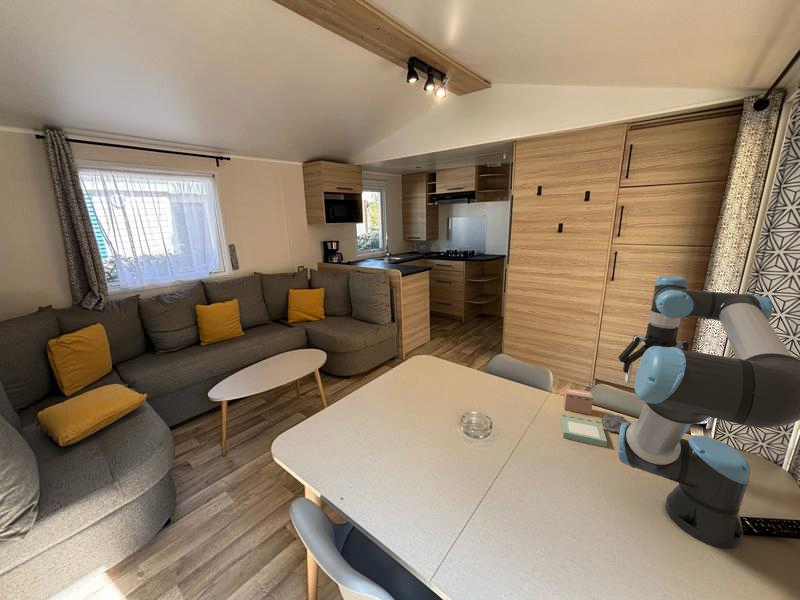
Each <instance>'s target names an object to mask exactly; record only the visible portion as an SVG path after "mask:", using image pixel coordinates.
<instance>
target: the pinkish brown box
mask: <svg viewBox="0 0 800 600" xmlns="http://www.w3.org/2000/svg"><path fill="white" fill-rule="evenodd" d="M593 400H594V397H593V394H592V391H587V390H580V389H574V388H569V387H565V389H564V395H563V410H564V411H569V410H570V411H569V412H576V413H580V414H585V415H590V414H591V415H592V408H593V404H594V402H593Z"/></svg>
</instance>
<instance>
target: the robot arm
mask: <svg viewBox="0 0 800 600" xmlns="http://www.w3.org/2000/svg"><path fill="white" fill-rule="evenodd" d="M688 283H689V281H688V279H687V278H685V277H682V276H674V275H673V276H672V275H662V276H661V275H660V276H658V277H657V278H656V280H655V284H654V286H653V288H654V289H653V290H654V291H653V296H652V300H651V301H652V302H651V308H650V312H649V318H648V322H649V323H647V328H646V335H645V337H641V336H638V335H633V338H632V341H631V342H630V343H629V344H628V346H627V347H625V349H624V350H623V351H622V352H621V353H620V355H619V356H618V360H619V361H620V362H621V363H623V368H622V370H623V372H624V373H625V377H624V381H625V382H626V384H630V383H631V377H632V373H633V367H634V366H633V363H634V362H635V361H637V360H638V359H640V360H639V365H638V368H637V369H636V370H637V371H636V374H635V379H634V393H635V396H636V397H637V398H638V399H639V400H642V401H644V404H643V407H642V410H641V413H640V415H639V418H638V420H636V421H633V422H632V423H631V422H630V423H625V422H624V423H622V424H621V427H620V433H619V432H618V433H619V434H618V450H617V452H618V453H617V455H618V459H619V461H620V462H621V463H622V464H623V465H624V464H625V465H627V466H629V467H630V468H633V469H637V470H640V471H643V472H646V473H650V474H651V475H656V476H658V477H661V478H664V479H667V480H669V481H673V482H676V483H678V485H677V486H675V487H674V489H672V491H670V493H669V494H667V497H666V501H665V504H664V506H665V510H666V513H667V515H668V516H669V517H670V518H671V520H672V521H673V522H674V523H675V524H676V525H677V526H679V528H681V529H682V530H683V531H684V532H686V533H688V535H690V536H692V537H694V538H695V539H697V540H699V541H701V542H703V543H706V544H708V545H711V546H713V547H716V548H722V549H735V548H738V547H739V546H740V545H741V544H742V540H743V536H744V531H743V525H742V520H741V517H740V509H741V506H742V503H743V500H744V496H745V494H746V490H747V487H748V485H749V483H750V480H751V479H750V477H751V471H752V469H751V465H750V463H749V461H748V459H746V457H745V456H744V455H743V454H742V453H741V452H739V451H737V450H736V449H735V448H733V447H732V446H730V445H728V444H727V443H725V442H722V441H720V440H717V439H716V438H713V437H709V436H707V435H703V434H698V435H697V434H694V435H691V436H690V437H689V438H688V439H685V438H683V437H684V435H685V434H686V433H687V431H688V430H689V428H690V427H691V425H695V424H696V425H698V424H701V423H702V422H705V421H706V420H707V419H709V418H713V419H716V420H720V421H724V422H725V421H726V422H729V423H734V424H738V425H741V426H747V427H751V428H758V429H759V428H761V429H763V428H764V429H766V428H767V429H768V428H769V429H770V428H780V427H784V426H789V425H792V424H794V423H796V422H798V421H800V358H799V357H795V356H793V355H792V353H791V352H790V351H789V349H788V348H787V345H785V343H784V342H783V340H782V339H781V338H780V336H779V335H778V333H777V332H776V330H775V329H774V327H773V326H772V325H771V323H770V322H769V321H770V319H771V317H772V314H773V305H772V304H773V303H772V299H770V298H769V297H767V296H763V295H755V294H751V293H749V294H748V293H746V294H745V293H732V292H731V293H729V292H717V291H705V290H695V289H693V290H692V289H688V288H689V286H688ZM684 317H686V318H695V319H704V320H712V321H720V323H721V326H722V328H723V331H724V333H725V335H726V337H727V340H728V342H729V344H730V347H731V349H732V352H733V354H734V357H729V356H724V355H717V354H710V353H704V352H699V351H698V352H697V351H691V350H689V343H688V342H687V341H686V340H684V339H681V340H677V337H678V333H679V326H680V323H681V319H682V318H684ZM642 343H645V344H644V345H642V346H641V347H640V348H638V349H637V347H638V346H639V345H641V344H642ZM678 347H679V348H678ZM636 349H637V350H636ZM635 350H636V351H635Z"/></svg>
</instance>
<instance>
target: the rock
mask: <svg viewBox="0 0 800 600" xmlns="http://www.w3.org/2000/svg"><path fill="white" fill-rule="evenodd" d="M600 422H601V425H602V427H604V428H605V429H606V431H609V432H610V433H620V427H621V424H622V423H624V422H625V423H631V422H630V421H629V420H628V419H626V418H625V417H624V416H622V415H618V414H612V413H606V414H605V415H604V416H603V417H602V418H601V421H600Z"/></svg>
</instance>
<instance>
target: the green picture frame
mask: <svg viewBox="0 0 800 600" xmlns="http://www.w3.org/2000/svg"><path fill="white" fill-rule="evenodd" d="M560 425H561V432H562V437H563V439H567V440H571V441H576V442H580V443H585V444H589V445H594V446H598V447H603V448H607V444H608V440H607V437H606V434H605V431H604V428H603V424H602V421H596V420H590V419H586V418H582V417H581V418H580V417H575V416H570V415H565V414H561V415H560Z"/></svg>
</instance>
